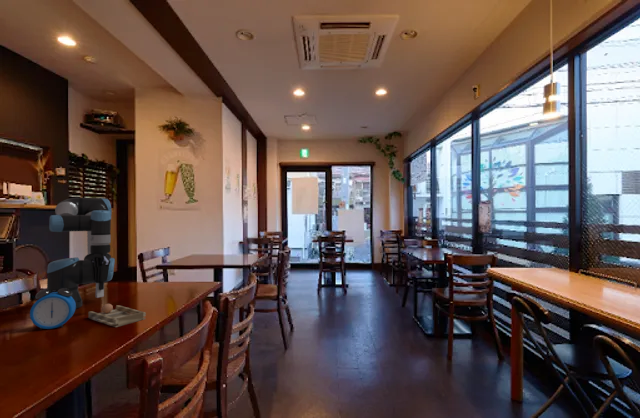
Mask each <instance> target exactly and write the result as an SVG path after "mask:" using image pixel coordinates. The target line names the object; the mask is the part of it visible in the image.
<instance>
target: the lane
mask: <svg viewBox="0 0 640 418" xmlns="http://www.w3.org/2000/svg"><path fill="white" fill-rule="evenodd" d="M146 315H147V313H146V311H141V310H137V309H133V308H131V307H128V306H127V307H126V306H123V305H117V304H116V306H115V309H114V308H113V309H112V311H111V312H109V313H104V312H103V311H102V312H95V311H88V319H90V320H93V321H96V322H99V323H101V324H105V325H108V326H110V327H113V328H118V327H122V326H126V325H129V324H133V323H136V322H140V321H144V320H146V319H147V318H146Z"/></svg>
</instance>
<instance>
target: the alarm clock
mask: <svg viewBox="0 0 640 418" xmlns="http://www.w3.org/2000/svg"><path fill="white" fill-rule="evenodd" d="M53 291H56V290H53ZM50 292H51V291H50V290H48V289H47V288H46V289H45V288H44V289H40V290H39V291H38V292H37V293H36V294H35V299H36V301H35V302H34V303H33V304H32V306H31V307H30V311H29V318H30V320H31V322H32V323H33V325H35V326H36V327H38V328H39V330H40V331H42V329H47V330H52V329H56V328H60V327H61V328H63V327H64V326H63V325H64V324H66V323H67V322H68V321H69V320H70V319H71V318H72V317H73V316H74V314H75V312H76V309H77V308H76V303H75V301H74V299H73V298H72V297H71V295H72V291H71V290H70V289H68V288H61V289H59V290H58V292H53V293H50ZM48 293H50V294H48Z"/></svg>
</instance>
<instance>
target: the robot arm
mask: <svg viewBox="0 0 640 418" xmlns="http://www.w3.org/2000/svg"><path fill="white" fill-rule="evenodd" d="M54 210H55V211H54V212H55V214H53V215H52V214H51V215H50V216H49V222H48V223H49V225H48V226H49V227H48V228H49V231H50V232H52V233H53V232H55V233H63V232H64V233H65V232H66V233H67V232H68V233H69V232H86V234H87V236H86V237H87V241H86V242H87V244H86V245H87V249H86V250H87V254H86V255H85V256H84V258H83V259H80V258H79V257H69V258H68V257H67V258H61V259H57V260H54V261H50V262H49V263H48V265H47V271H46V273H47V277H46V278H47V279H46V280H47V281H46V289H48V290H50V291H51V292H50V293H53V292H58V290H59V289H61V288H68V289H70V290H71V291H72V295H71V297H72V298H73V299H74V301H75V303H76V309H79V308H81V307H83V299H82V297H81V294H80V290H79V285H86V284H87V285H88V284H95V298H97V299H99V298H103V297H104V296H105V282H109V281H111V280H112V279H113V276H114V269H115V263H116V261H115V260H116V259H115V258H114V257H112V255H111V254H110V253H111V241H112V240H111V238H112V234H111V232H112V231H111V225H112V205H111V202H110V200H109V199H108V198H102V197H98V198H96V197H95V198H94V197H71V198H67V199H64V200H62V201H60V202H59V203H57V205H56V206H55V208H54ZM53 290H56V291H53ZM50 293H48V294H50Z"/></svg>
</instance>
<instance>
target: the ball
mask: <svg viewBox="0 0 640 418" xmlns="http://www.w3.org/2000/svg"><path fill="white" fill-rule="evenodd" d="M113 306H114V305H112V304H111V303H106V304H103V305H102V308H101V311H102V312H104V313H109V312H111V311H112V310H114V308H113Z"/></svg>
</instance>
